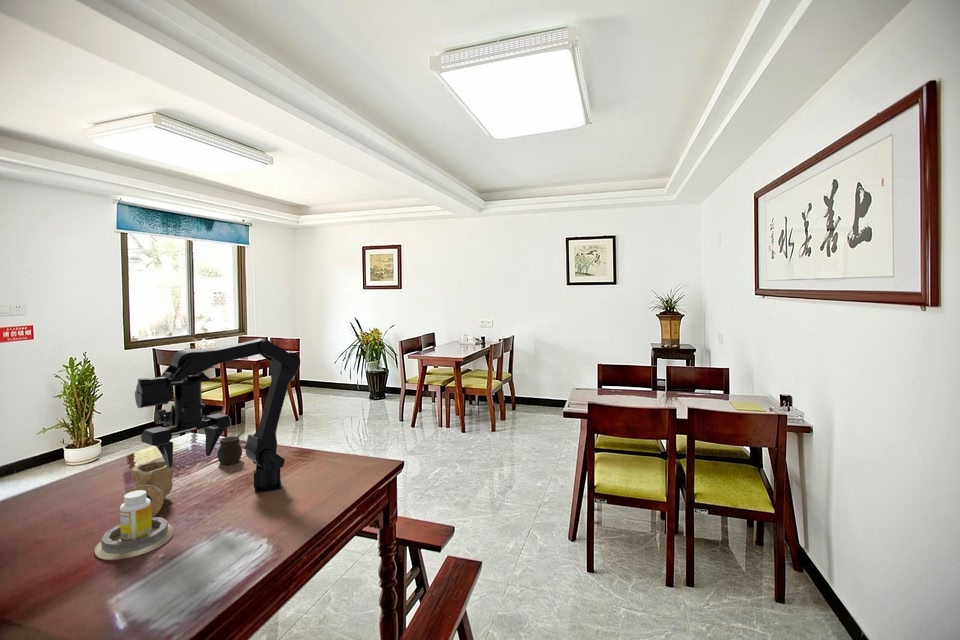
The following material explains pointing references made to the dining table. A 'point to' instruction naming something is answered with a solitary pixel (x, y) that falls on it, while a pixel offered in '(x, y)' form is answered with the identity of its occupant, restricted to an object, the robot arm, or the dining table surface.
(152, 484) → the pipe
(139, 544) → the holder ring
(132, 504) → the supplement bottle
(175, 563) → the dining table surface
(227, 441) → the mate gourd
